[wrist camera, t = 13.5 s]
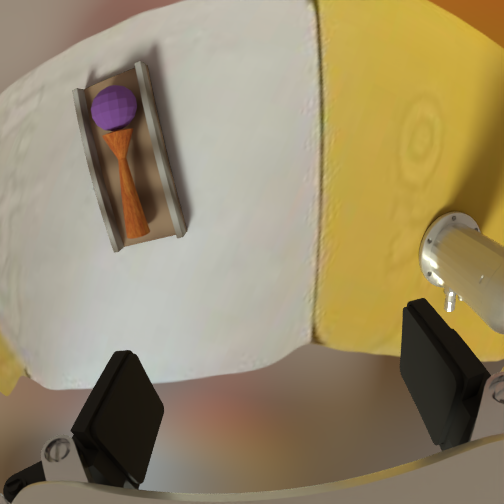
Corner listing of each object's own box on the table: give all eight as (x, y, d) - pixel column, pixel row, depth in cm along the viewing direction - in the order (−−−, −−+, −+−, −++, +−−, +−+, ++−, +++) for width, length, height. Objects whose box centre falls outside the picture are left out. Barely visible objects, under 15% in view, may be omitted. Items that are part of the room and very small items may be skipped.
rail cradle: (187, 230, 43) (182, 237, 41) (121, 245, 44) (114, 252, 42) (147, 65, 35) (140, 61, 33) (82, 92, 36) (72, 90, 34)
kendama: (109, 243, 38) (79, 93, 31) (131, 228, 44) (106, 93, 36) (147, 240, 37) (117, 78, 29) (167, 224, 42) (142, 81, 35)
